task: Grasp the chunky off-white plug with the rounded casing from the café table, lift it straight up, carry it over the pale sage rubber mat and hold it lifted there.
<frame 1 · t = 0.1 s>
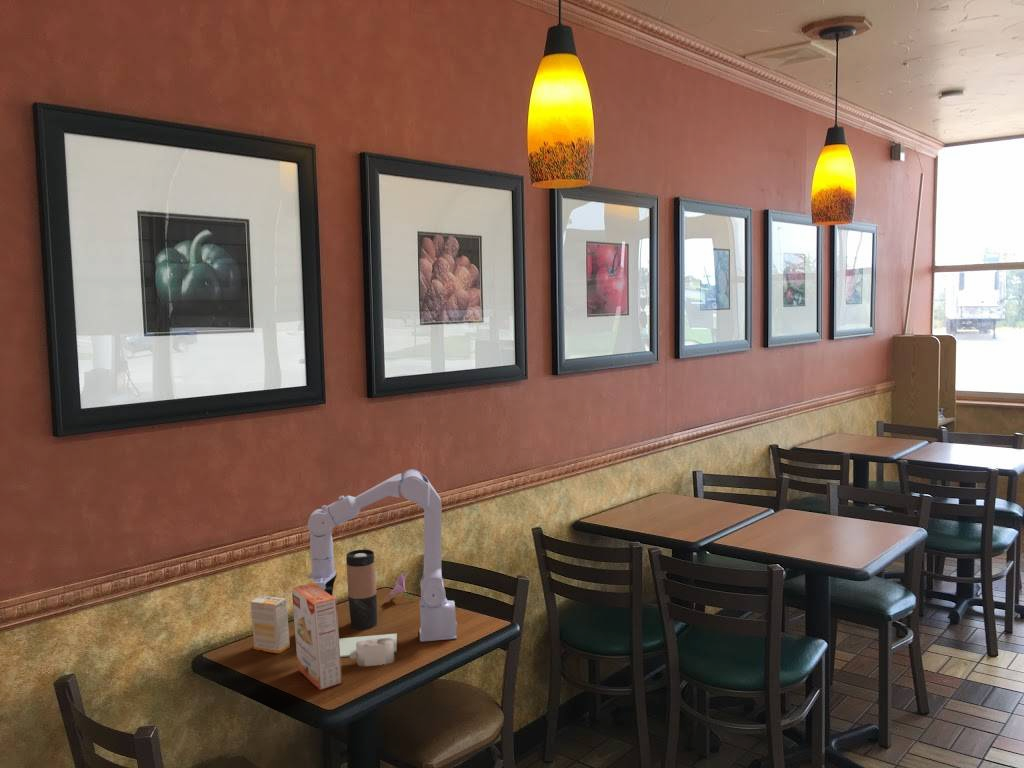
hand: (325, 607, 214), 10 cm above the table, tool pointing down, fingers open, 7 cm apart
cracker box: (319, 678, 196), on the table
lily: (399, 602, 244), on the table
supplement box: (272, 649, 214), on the table
travel mug: (364, 624, 228), on the table
mat: (365, 646, 213), on the table
plug: (375, 661, 204), on the table
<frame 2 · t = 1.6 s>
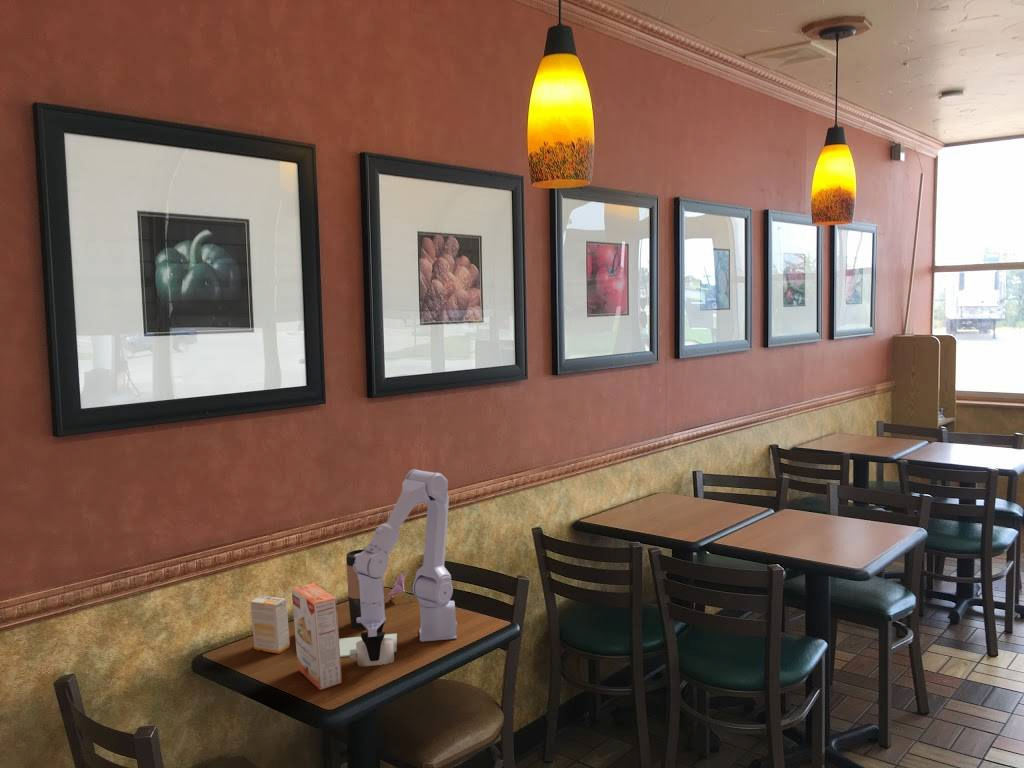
hand: (375, 653, 203), 2 cm above the table, tool pointing down, fingers open, 7 cm apart
nothing on the table moved.
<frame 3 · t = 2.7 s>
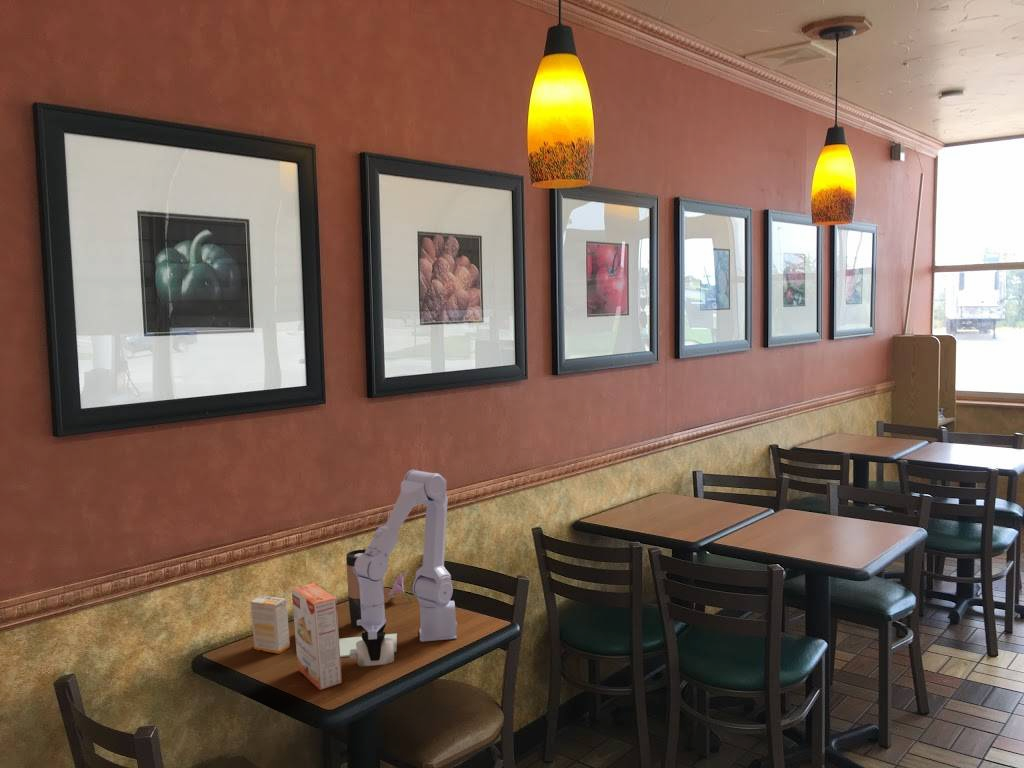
hand: (375, 656, 203), 1 cm above the table, tool pointing down, fingers closed on plug, 4 cm apart
plug: (375, 661, 204), on the table, touching gripper
everything else where it was.
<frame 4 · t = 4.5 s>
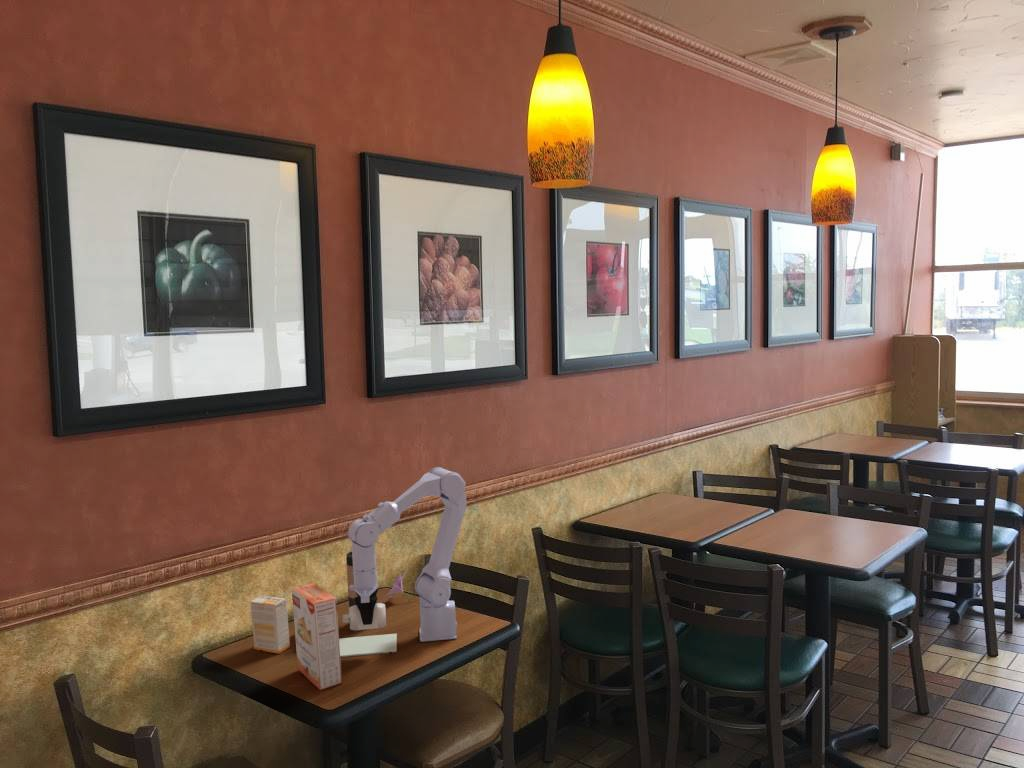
hand: (367, 620, 208), 8 cm above the table, tool pointing down, fingers closed on plug, 4 cm apart
plug: (368, 626, 208), point 7 cm above the table, touching gripper
everything else where it was.
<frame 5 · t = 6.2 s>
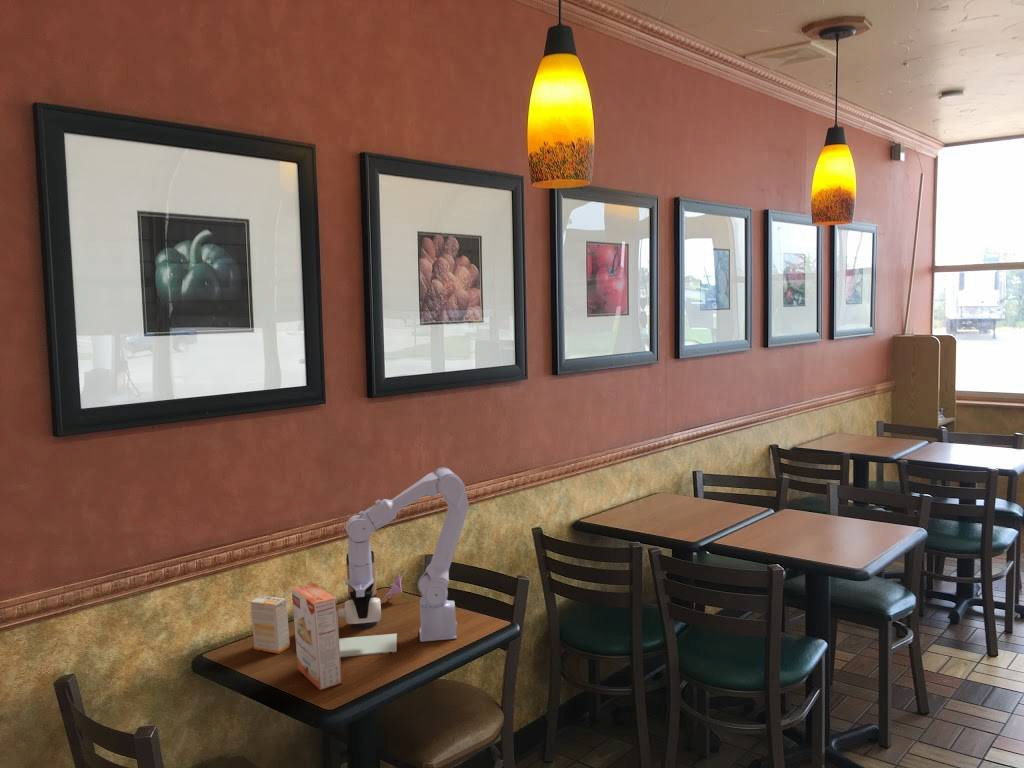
hand: (363, 614, 212), 8 cm above the table, tool pointing down, fingers closed on plug, 4 cm apart
plug: (363, 620, 212), point 7 cm above the table, touching gripper
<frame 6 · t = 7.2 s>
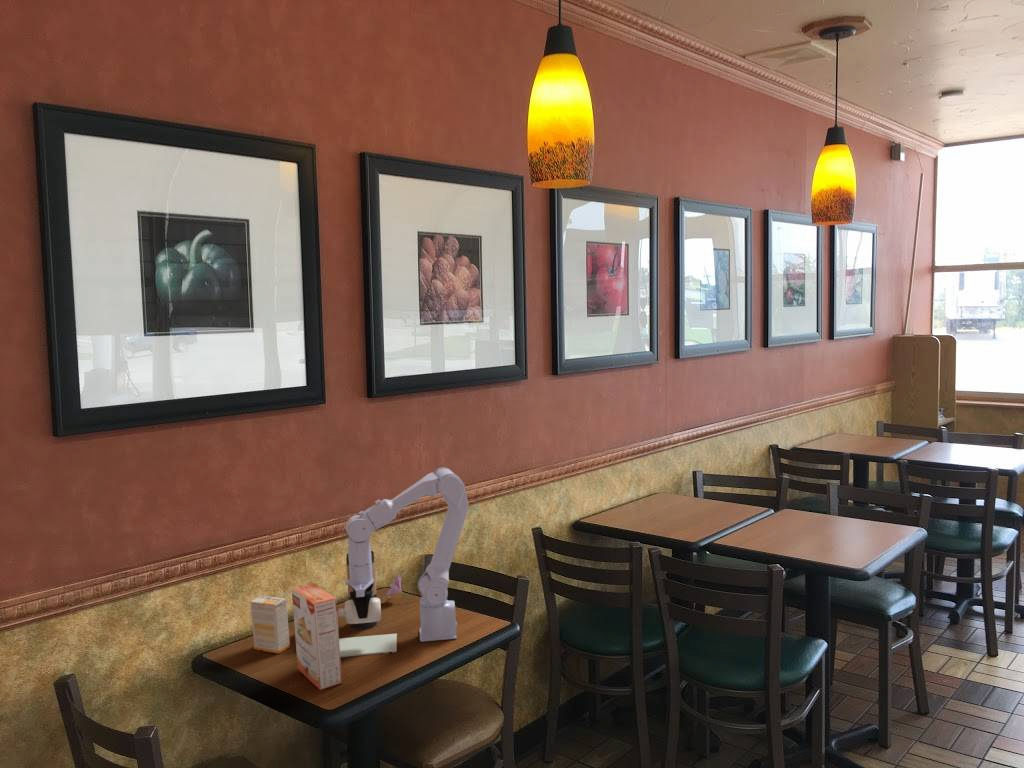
hand: (363, 614, 212), 8 cm above the table, tool pointing down, fingers closed on plug, 4 cm apart
plug: (363, 620, 212), point 7 cm above the table, touching gripper
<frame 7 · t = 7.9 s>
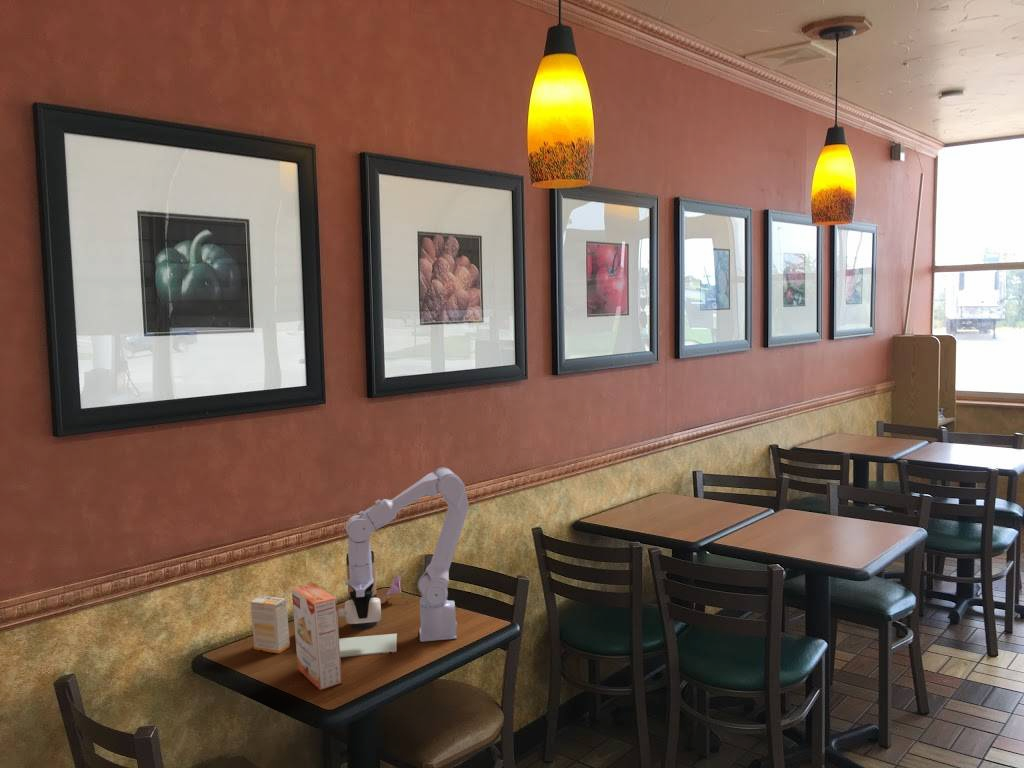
hand: (363, 614, 212), 8 cm above the table, tool pointing down, fingers closed on plug, 4 cm apart
plug: (363, 620, 212), point 7 cm above the table, touching gripper
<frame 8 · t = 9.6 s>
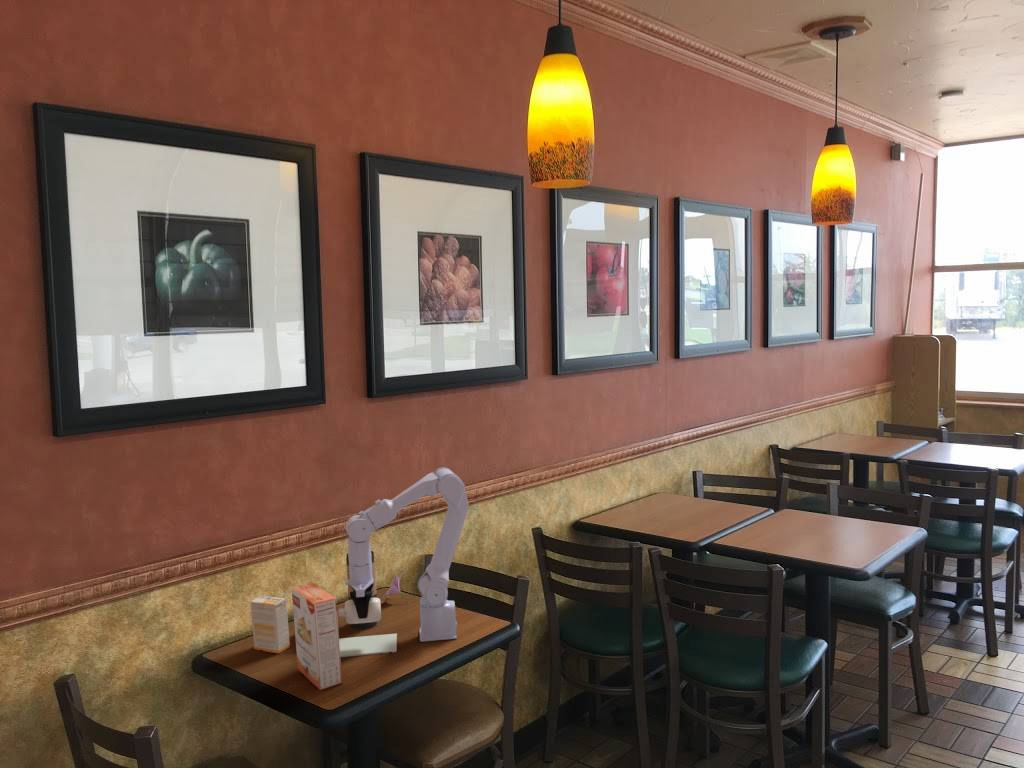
hand: (363, 614, 212), 8 cm above the table, tool pointing down, fingers closed on plug, 4 cm apart
plug: (363, 620, 212), point 7 cm above the table, touching gripper
at the end: the gripper is holding plug; plug point 7.0 cm above the table; plug 0.0 cm from the mat (horizontally) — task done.
